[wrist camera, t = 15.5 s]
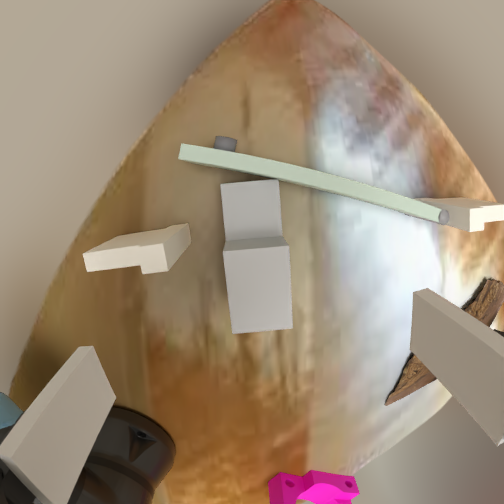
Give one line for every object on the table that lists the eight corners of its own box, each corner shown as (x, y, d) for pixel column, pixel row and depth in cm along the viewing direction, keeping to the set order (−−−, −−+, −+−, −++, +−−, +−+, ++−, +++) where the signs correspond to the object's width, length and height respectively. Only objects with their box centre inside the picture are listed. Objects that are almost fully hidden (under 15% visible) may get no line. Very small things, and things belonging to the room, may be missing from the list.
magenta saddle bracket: (353, 476, 42) (363, 505, 34) (332, 492, 43) (340, 520, 35) (288, 464, 39) (293, 499, 32) (268, 481, 41) (270, 514, 33)
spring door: (193, 164, 28) (178, 160, 21) (198, 139, 28) (185, 127, 21) (411, 216, 30) (447, 226, 23) (416, 193, 29) (453, 199, 22)
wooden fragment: (501, 261, 31) (506, 263, 30) (509, 309, 35) (513, 312, 34) (368, 381, 35) (371, 386, 34) (393, 413, 38) (396, 417, 37)
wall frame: (121, 252, 30) (76, 281, 21) (117, 234, 30) (70, 257, 20) (463, 211, 30) (518, 224, 21) (462, 195, 30) (519, 204, 20)
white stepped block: (234, 297, 32) (232, 333, 24) (223, 183, 29) (216, 184, 22) (281, 293, 32) (292, 328, 24) (273, 179, 29) (284, 179, 22)
